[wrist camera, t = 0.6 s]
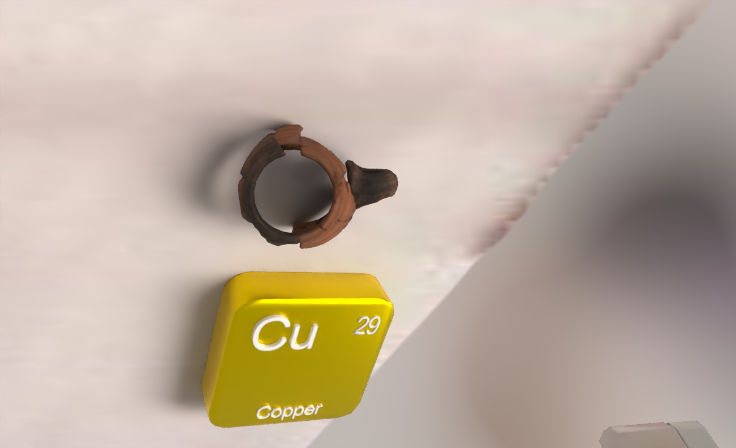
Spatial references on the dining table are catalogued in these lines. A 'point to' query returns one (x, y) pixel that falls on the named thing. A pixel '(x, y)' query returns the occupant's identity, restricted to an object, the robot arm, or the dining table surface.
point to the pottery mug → (346, 195)
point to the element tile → (293, 346)
